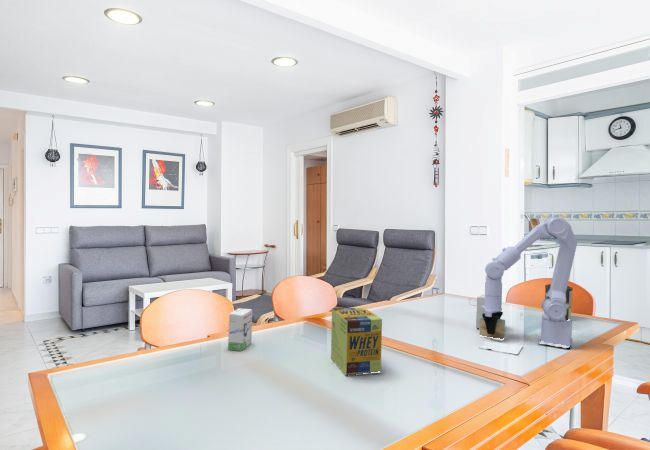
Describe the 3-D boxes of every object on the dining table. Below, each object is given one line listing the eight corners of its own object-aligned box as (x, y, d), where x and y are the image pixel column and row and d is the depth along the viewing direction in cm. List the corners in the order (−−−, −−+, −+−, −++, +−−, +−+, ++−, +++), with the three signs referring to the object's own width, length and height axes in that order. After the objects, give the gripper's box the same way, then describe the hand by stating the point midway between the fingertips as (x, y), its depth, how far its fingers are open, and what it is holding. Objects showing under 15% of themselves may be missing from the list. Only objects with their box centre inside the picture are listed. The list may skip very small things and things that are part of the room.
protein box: (346, 377, 119) (347, 320, 118) (330, 358, 134) (331, 307, 133) (381, 373, 122) (383, 318, 121) (362, 355, 136) (363, 306, 136)
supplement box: (495, 332, 165) (496, 299, 164) (475, 329, 169) (476, 296, 168) (500, 328, 170) (501, 296, 170) (481, 325, 175) (482, 293, 174)
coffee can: (560, 323, 180) (561, 289, 179) (538, 317, 189) (539, 285, 189) (576, 320, 184) (578, 287, 184) (554, 315, 194) (556, 283, 193)
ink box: (237, 342, 148) (238, 307, 147) (252, 343, 147) (252, 308, 146) (227, 350, 139) (227, 313, 139) (242, 351, 138) (242, 314, 138)
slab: (504, 339, 157) (505, 319, 156) (502, 341, 154) (503, 321, 154) (481, 335, 161) (482, 316, 161) (479, 337, 158) (480, 318, 158)
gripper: (486, 290, 165) (485, 326, 166) (476, 297, 153) (475, 335, 153) (506, 293, 161) (505, 329, 162) (497, 299, 149) (496, 339, 150)
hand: (492, 332), depth 157 cm, fingers open, 4 cm apart
